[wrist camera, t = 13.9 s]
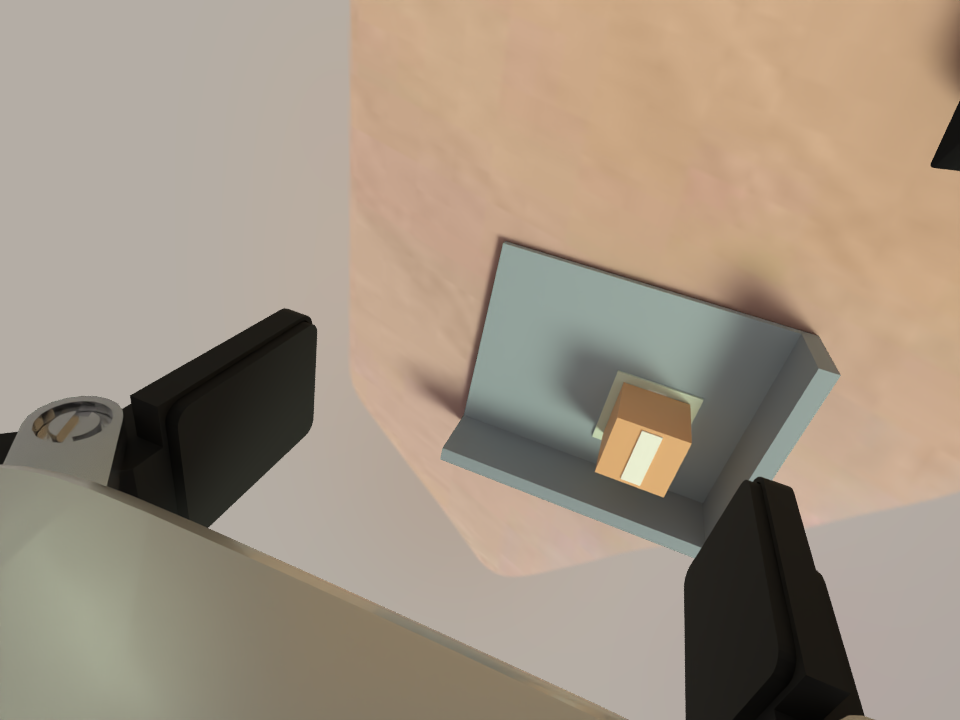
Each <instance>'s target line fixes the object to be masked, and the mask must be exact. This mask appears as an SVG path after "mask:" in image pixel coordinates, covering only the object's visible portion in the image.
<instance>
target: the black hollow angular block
mask: <svg viewBox="0 0 960 720" xmlns="http://www.w3.org/2000/svg"><path fill="white" fill-rule="evenodd" d="M931 167H932V168H940V169H948V170H956V171H960V101H959V104H958V106H957V108H956V110H955V112H954V114H953V117H952V119H951V121H950V123H949V125H948V127H947V130H946V132H945V134H944V136H943V138H942V140H941V143H940V145H939V147H938V149H937V151H936V153H935V156H934V158H933V160H932V162H931Z"/></svg>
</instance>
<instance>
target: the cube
mask: <svg viewBox="0 0 960 720" xmlns="http://www.w3.org/2000/svg"><path fill="white" fill-rule="evenodd" d="M691 444H692V435H691V409H690V404H687V403H684V402H681V401H678V400H675V399H672V398H669V397H666V396H663V395H660V394H657V393H654V392H651V391H648V390H645V389H642V388H639V387H636V386H633V385H630V384H627V383H625V382H624V383H623V385H622V388H621V390H620V393H619V395H618V398H617V400H616V403H615V405H614V408H613V410H612V412H611V415H610V417H609V420H608V422H607V425H606V427H605V430H604V432H603V436H602V441H601V445H600V450H599V455H598V459H597V464H596V469H595V472H596V473H599V474H602V475H604V476H607V477H610V478H612V479H615V480H618V481H620V482H623V483H626V484H629V485H631V486H634V487H637V488H639V489H642V490H645V491H647V492H650V493H653V494H655V495H658V496H661V497H663V498H664V496H665V494H666V492H667V490H668V488H669V486H670V484H671V483H672V481H673V479H674V477H675V475H676V473H677V471H678V469H679V467H680V465H681V463H682V462H683V460H684V458H685V456H686V454H687V452H688V450H689V448H690V446H691Z"/></svg>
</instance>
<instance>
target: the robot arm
mask: <svg viewBox="0 0 960 720" xmlns="http://www.w3.org/2000/svg"><path fill="white" fill-rule="evenodd" d="M316 345H317V328H316V326H315V325H313V324H312V321H311V318H310V317H308V316H306V315H304V314H300V313H298V312H295V311H292V310H289V309H282V310H279V311H278V312H276V313H274V314H272V315H271V316H269V317H267V318H265V319H264V320H262V321H260V322H258V323H257V324H255V325H253V326H251V327H250V328H248V329H246V330H244V331H243V332H241V333H239V334H237V335H235V336H234V337H232V338H231V339H228V340H227V341H225V342H223V343H222V344H220V345H218V346H216V347H214V348H213V349H211V350H209V351H207V352H206V353H204V354H202V355H201V356H199V357H197V358H195V359H194V360H192V361H190V362H188V363H186V364H185V365H183V366H181V367H179V368H178V369H176V370H174V371H172V372H171V373H169V374H167V375H165V376H164V377H162V378H160V379H158V380H157V381H155V382H153V383H151V384H150V385H148V386H146V387H144V388H143V389H141V390H139V391H137V392H136V393H134V394H132V395H130V398H131V404H130V405H128V406H127V407H125V408H123V409H121V408H120V406H119V405H118V404H117V403H115V402H114V401H112V400H109V399H106V398H102V397H97V396H79V397H71V398H66V399H62V400H58V401H55V402H51V403H49V404H47V405H45V406H43V407H40V408H38V409H37V410H35V411H34V412H33V413H31V414H30V415H29V416H27V418H26V419H25V420H24V422H23V423H22V425H21V426H20V429H19V431H18V432H13V433H4V434H0V720H628V719H626V718H624V717H622V716H620V715H618V714H616V713H613V712H611V711H609V710H607V709H605V708H603V707H601V706H599V705H597V704H594V703H592V702H590V701H588V700H586V699H584V698H581V697H579V696H577V695H575V694H573V693H571V692H568V691H566V690H564V689H562V688H559V687H557V686H555V685H553V684H551V683H549V682H547V681H544V680H542V679H540V678H538V677H536V676H534V675H531V674H529V673H527V672H525V671H523V670H521V669H518V668H516V667H514V666H512V665H510V664H507V663H505V662H503V661H501V660H499V659H496V658H494V657H492V656H490V655H488V654H486V653H483V652H481V651H479V650H477V649H475V648H473V647H471V646H468V645H466V644H464V643H462V642H459V641H457V640H455V639H453V638H451V637H449V636H446V635H444V634H442V633H440V632H438V631H435V630H433V629H431V628H428V627H427V626H424V625H422V624H420V623H418V622H416V621H413V620H411V619H409V618H407V617H405V616H402V615H400V614H398V613H396V612H394V611H391V610H389V609H387V608H385V607H382V606H380V605H378V604H376V603H374V602H371V601H369V600H367V599H365V598H363V597H360V596H358V595H356V594H354V593H352V592H349V591H347V590H345V589H343V588H341V587H338V586H336V585H334V584H332V583H329V582H327V581H325V580H323V579H321V578H318V577H316V576H314V575H312V574H309V573H307V572H305V571H303V570H301V569H298V568H296V567H294V566H292V565H289V564H287V563H285V562H283V561H280V560H278V559H276V558H274V557H271V556H269V555H267V554H265V553H262V552H260V551H258V550H256V549H254V548H251V547H249V546H247V545H245V544H242V543H240V542H238V541H236V540H233V539H231V538H229V537H227V536H224V535H222V534H220V533H218V532H215V531H213V530H211V529H209V528H208V527H209V526H210V525H211V524H212V523H213V522H215V521H216V520H217V519H218V518H219V517H220V516H221V515H222V514H223V513H224V512H225V511H226V510H227V509H228V508H229V507H230V506H232V505H233V504H234V503H235V502H236V501H237V500H238V499H239V498H240V497H241V496H242V495H243V494H244V493H245V492H246V491H247V490H248V489H250V488H251V487H252V486H253V485H254V484H255V483H256V482H257V481H258V480H259V479H260V478H261V477H262V476H263V475H264V474H265V473H266V472H267V471H269V470H270V469H271V468H272V467H273V466H274V465H275V464H276V463H277V462H278V461H279V460H280V459H281V458H282V457H283V456H284V455H285V454H286V453H288V452H289V451H290V450H291V449H292V448H293V447H294V446H295V445H296V444H297V443H298V442H299V441H300V440H301V439H302V438H303V437H304V436H306V434H307V433H308V432H309V430H310V428H311V426H312V423H313V414H314V392H315V368H316V347H317V346H316ZM684 614H685V615H684V617H685V698H686V720H874V719H871V718H868V717H865V716H864V713H863V709H862V706H861V702H860V699H859V695H858V692H857V689H856V685H855V682H854V679H853V675H852V672H851V668H850V665H849V661H848V658H847V655H846V651H845V648H844V645H843V641H842V638H841V634H840V631H839V628H838V624H837V621H836V617H835V614H834V611H833V607H832V604H831V601H830V597H829V594H828V591H827V587H826V584H825V581H824V579H823V577H822V575H821V574H820V573H819V572H818V571H816V569H815V565H814V561H813V558H812V554H811V551H810V547H809V544H808V541H807V537H806V533H805V530H804V526H803V523H802V519H801V516H800V512H799V509H798V505H797V502H796V498H795V494H794V491H793V489H792V488H791V487H789V486H786V485H783V484H780V483H778V482H775V481H772V480H769V479H766V478H763V477H761V476H760V477H757V478H756V479H754V481H753V482H752V481H749V480H744V481H743V482H742V483H741V485H740V486H739V488H738V489H737V491H736V493H735V494H734V496H733V497H732V499H731V501H730V502H729V504H728V506H727V507H726V509H725V510H724V512H723V514H722V515H721V517H720V518H719V520H718V522H717V523H716V525H715V527H714V528H713V530H712V531H711V533H710V535H709V536H708V538H707V539H706V541H705V543H704V544H703V546H702V548H701V549H700V551H699V552H698V554H697V556H696V557H695V559H694V560H693V562H692V564H691V565H690V567H689V569H688V571H687V574H686V577H685V583H684Z"/></svg>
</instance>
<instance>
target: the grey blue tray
mask: <svg viewBox="0 0 960 720" xmlns="http://www.w3.org/2000/svg"><path fill="white" fill-rule="evenodd" d="M840 376H841V375H840V373H839V371H838V370H837V368H836V366H835V364H834V362H833V361H832V359H831V357H830V355H829V353H828V352H827V350H826V348H825V346H824V344H823V343H822V341H821V339H820V337H819V336H817V335H814V334H810V333H807V332H804V331H801V330H797V329H794V328H791V327H787V326H784V325H781V324H777V323H774V322H771V321H768V320H764V319H761V318H758V317H754V316H751V315H748V314H744V313H741V312H738V311H735V310H731V309H728V308H725V307H721V306H718V305H715V304H711V303H708V302H705V301H701V300H698V299H695V298H692V297H688V296H685V295H682V294H678V293H675V292H672V291H668V290H665V289H662V288H659V287H655V286H652V285H649V284H645V283H642V282H639V281H635V280H632V279H629V278H626V277H622V276H619V275H616V274H612V273H609V272H606V271H602V270H599V269H596V268H592V267H589V266H586V265H583V264H579V263H576V262H573V261H569V260H566V259H563V258H559V257H556V256H553V255H550V254H546V253H543V252H540V251H536V250H533V249H530V248H526V247H523V246H520V245H517V244H513V243H510V242H507V241H505V242H504V243H503V246H502V251H501V255H500V259H499V264H498V268H497V272H496V277H495V281H494V286H493V290H492V294H491V299H490V303H489V308H488V312H487V316H486V321H485V325H484V329H483V334H482V338H481V343H480V347H479V351H478V356H477V360H476V364H475V369H474V373H473V378H472V382H471V386H470V391H469V395H468V400H467V404H466V408H465V413H464V416H463V417H462V419H461V420H460V422H459V423H458V425H457V427H456V428H455V430H454V431H453V433H452V434H451V436H450V437H449V439H448V441H447V442H446V444H445V445H444V447H443V449H442V453H441V458H440V459H441V460H443V461H446V462H449V463H451V464H454V465H456V466H459V467H461V468H464V469H467V470H469V471H472V472H474V473H477V474H479V475H482V476H485V477H487V478H490V479H492V480H495V481H497V482H500V483H502V484H505V485H508V486H510V487H513V488H515V489H518V490H520V491H523V492H526V493H528V494H531V495H533V496H536V497H538V498H541V499H544V500H546V501H549V502H551V503H554V504H556V505H559V506H561V507H564V508H567V509H569V510H572V511H574V512H577V513H579V514H582V515H585V516H587V517H590V518H592V519H595V520H597V521H600V522H603V523H605V524H608V525H610V526H613V527H615V528H618V529H621V530H623V531H626V532H628V533H631V534H633V535H636V536H638V537H641V538H644V539H646V540H649V541H651V542H654V543H656V544H659V545H662V546H664V547H667V548H669V549H672V550H674V551H677V552H680V553H682V554H685V555H688V556H690V557H693V558H695V557H696V556H697V554H698V552H699V551H700V549H701V548H702V546H703V544H704V543H705V541H706V539H707V538H708V536H709V535H710V533H711V531H712V530H713V528H714V527H715V525H716V523H717V522H718V520H719V518H720V517H721V515H722V514H723V512H724V510H725V509H726V507H727V506H728V504H729V502H730V501H731V499H732V497H733V496H734V494H735V493H736V491H737V489H738V488H739V486H740V485H741V483H742V482H743V481H744V480H749V481H752V482H753V481H754V479H756V478H757V477H760V476H761V477H763V478H766V479H769V480H772V479H773V478H774V476H775V475H776V473H777V472H778V470H779V469H780V467H781V466H782V464H783V463H784V461H785V460H786V458H787V456H788V455H789V453H790V452H791V450H792V449H793V447H794V446H795V444H796V443H797V441H798V440H799V438H800V437H801V435H802V434H803V432H804V431H805V429H806V428H807V426H808V425H809V423H810V421H811V420H812V418H813V417H814V415H815V414H816V412H817V411H818V409H819V408H820V406H821V405H822V403H823V402H824V400H825V399H826V397H827V396H828V394H829V393H830V391H831V390H832V388H833V386H834V385H835V383H836V382H837V380H838V379H839V377H840ZM624 382H625V383H627V384H630V385H633V386H636V387H639V388H642V389H645V390H648V391H651V392H654V393H657V394H660V395H663V396H666V397H669V398H672V399H675V400H678V401H681V402H684V403H687V404H690V409H691V435H692V444H691V446H690V448H689V450H688V452H687V454H686V456H685V458H684V460H683V462H682V463H681V465H680V467H679V469H678V471H677V473H676V475H675V477H674V479H673V481H672V483H671V484H670V486H669V488H668V490H667V492H666V494H665V496H664V498H663V497H661V496H658V495H655V494H653V493H650V492H647V491H645V490H642V489H639V488H637V487H634V486H631V485H629V484H626V483H623V482H620V481H618V480H615V479H612V478H610V477H607V476H604V475H602V474H599V473H596V472H595V469H596V464H597V459H598V455H599V450H600V445H601V441H602V436H603V432H604V430H605V427H606V425H607V422H608V420H609V417H610V415H611V412H612V410H613V408H614V405H615V403H616V400H617V398H618V395H619V393H620V390H621V388H622V385H623V383H624Z"/></svg>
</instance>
